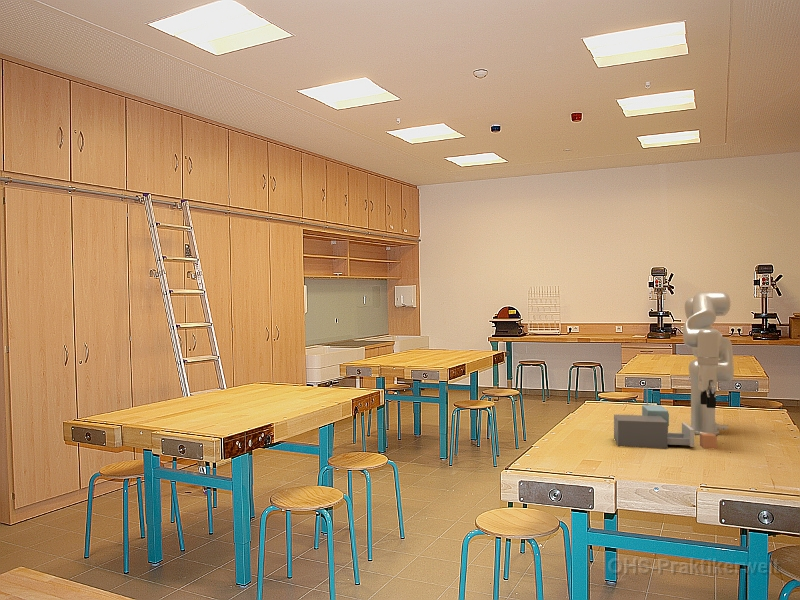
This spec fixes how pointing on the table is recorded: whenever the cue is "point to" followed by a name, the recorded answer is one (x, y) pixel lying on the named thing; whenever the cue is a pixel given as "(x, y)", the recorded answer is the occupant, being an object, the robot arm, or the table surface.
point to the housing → (640, 431)
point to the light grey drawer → (682, 436)
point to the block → (708, 440)
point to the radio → (655, 411)
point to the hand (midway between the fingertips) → (708, 406)
